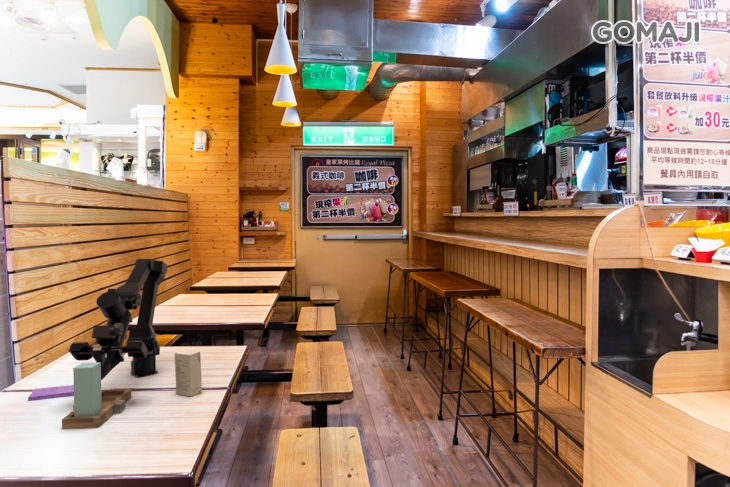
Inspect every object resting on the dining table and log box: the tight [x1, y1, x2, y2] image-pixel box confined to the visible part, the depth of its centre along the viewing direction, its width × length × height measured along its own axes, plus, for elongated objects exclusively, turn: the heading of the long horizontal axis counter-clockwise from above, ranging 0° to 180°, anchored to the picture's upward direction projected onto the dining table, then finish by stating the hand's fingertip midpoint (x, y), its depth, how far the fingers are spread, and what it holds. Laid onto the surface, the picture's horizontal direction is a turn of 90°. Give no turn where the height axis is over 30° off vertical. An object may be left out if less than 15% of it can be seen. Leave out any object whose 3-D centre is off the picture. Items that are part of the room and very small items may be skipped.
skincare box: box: [174, 349, 203, 397], centre depth 135 cm, size 6×4×12 cm
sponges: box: [27, 384, 74, 402], centre depth 135 cm, size 7×13×2 cm, turn 111°
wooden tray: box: [61, 388, 133, 430], centre depth 122 cm, size 20×12×3 cm, turn 6°
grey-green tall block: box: [73, 362, 102, 417], centre depth 116 cm, size 4×4×13 cm
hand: (99, 379), depth 122 cm, fingers closed
